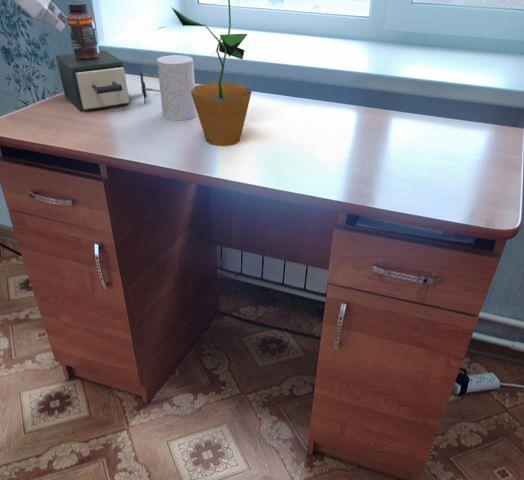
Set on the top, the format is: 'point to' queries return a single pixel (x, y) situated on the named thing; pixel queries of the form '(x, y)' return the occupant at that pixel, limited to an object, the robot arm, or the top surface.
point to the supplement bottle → (82, 31)
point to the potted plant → (221, 94)
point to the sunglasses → (144, 85)
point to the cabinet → (72, 64)
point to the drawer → (102, 87)
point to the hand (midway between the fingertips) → (64, 24)
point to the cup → (176, 86)
